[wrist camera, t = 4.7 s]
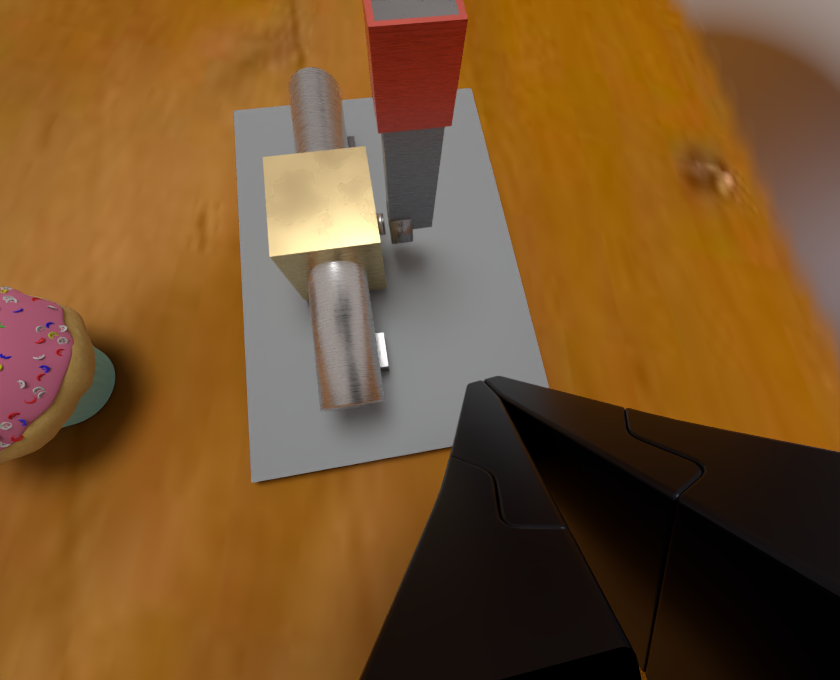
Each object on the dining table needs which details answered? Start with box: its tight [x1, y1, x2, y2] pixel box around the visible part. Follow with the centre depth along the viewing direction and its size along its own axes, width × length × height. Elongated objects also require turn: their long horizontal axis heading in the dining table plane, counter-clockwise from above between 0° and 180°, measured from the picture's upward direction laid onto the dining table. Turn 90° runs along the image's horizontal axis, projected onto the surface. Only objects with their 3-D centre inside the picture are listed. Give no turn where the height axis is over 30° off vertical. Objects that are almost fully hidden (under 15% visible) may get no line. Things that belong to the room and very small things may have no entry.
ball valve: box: [263, 67, 390, 411], centre depth 20 cm, size 20×6×6 cm, turn 10°
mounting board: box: [234, 88, 549, 483], centre depth 23 cm, size 26×18×1 cm
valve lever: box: [362, 0, 468, 244], centre depth 15 cm, size 2×3×12 cm
